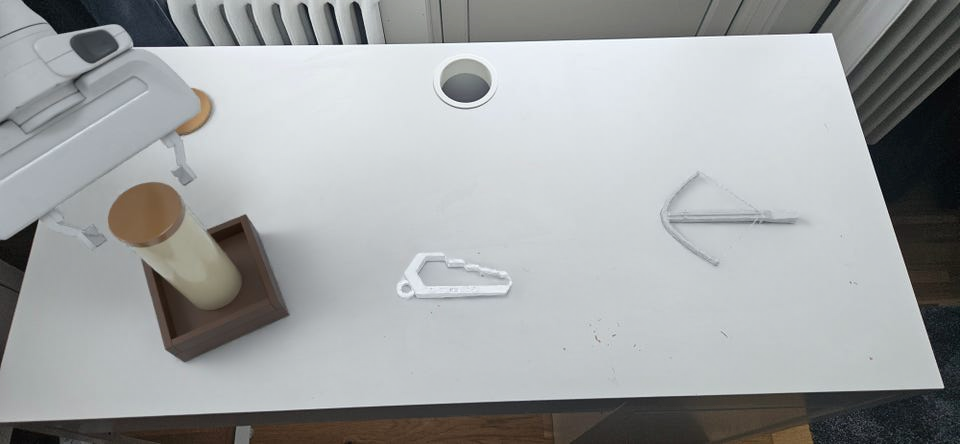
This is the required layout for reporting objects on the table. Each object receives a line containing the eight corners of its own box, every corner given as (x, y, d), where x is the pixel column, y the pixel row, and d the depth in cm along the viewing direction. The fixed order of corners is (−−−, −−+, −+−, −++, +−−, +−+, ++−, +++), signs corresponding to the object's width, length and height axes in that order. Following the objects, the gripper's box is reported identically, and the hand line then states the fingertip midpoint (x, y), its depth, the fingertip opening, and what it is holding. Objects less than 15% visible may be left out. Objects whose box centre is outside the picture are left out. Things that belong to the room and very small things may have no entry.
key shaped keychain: (510, 257, 69) (511, 251, 68) (512, 297, 67) (513, 291, 65) (398, 259, 69) (397, 252, 67) (396, 299, 66) (395, 293, 65)
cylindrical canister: (194, 320, 62) (114, 253, 48) (180, 273, 65) (101, 197, 51) (250, 296, 64) (188, 224, 50) (234, 251, 66) (171, 171, 52)
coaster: (156, 144, 76) (155, 143, 76) (143, 101, 79) (141, 99, 79) (218, 122, 78) (217, 121, 78) (202, 81, 81) (201, 79, 81)
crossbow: (667, 268, 70) (671, 261, 68) (652, 178, 76) (656, 169, 74) (806, 266, 69) (814, 259, 67) (780, 176, 75) (786, 166, 73)
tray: (184, 362, 63) (164, 349, 59) (158, 272, 67) (139, 255, 64) (289, 315, 65) (278, 300, 61) (258, 232, 70) (245, 213, 66)
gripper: (-116, 156, 43) (35, 294, 48) (136, 15, 50) (243, 148, 56) (-91, 157, 48) (43, 281, 54) (134, 29, 56) (231, 149, 61)
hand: (146, 212), depth 55 cm, fingers open, 8 cm apart
